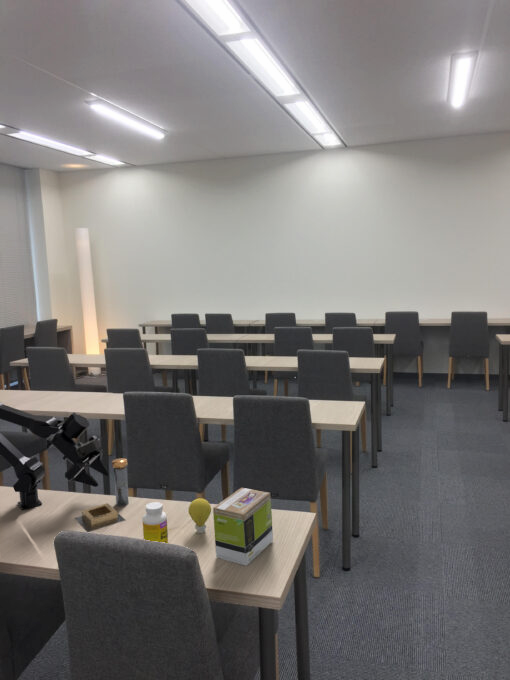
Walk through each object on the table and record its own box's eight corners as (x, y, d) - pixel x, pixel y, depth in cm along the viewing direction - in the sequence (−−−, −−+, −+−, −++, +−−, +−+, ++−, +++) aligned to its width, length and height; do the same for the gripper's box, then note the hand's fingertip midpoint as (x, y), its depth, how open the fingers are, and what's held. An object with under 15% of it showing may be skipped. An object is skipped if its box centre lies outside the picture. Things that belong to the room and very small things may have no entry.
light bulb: (202, 523, 168) (201, 492, 167) (216, 530, 163) (215, 498, 162) (185, 531, 163) (183, 499, 162) (199, 539, 159) (197, 506, 157)
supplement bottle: (163, 556, 150) (160, 511, 148) (140, 554, 151) (137, 510, 149) (171, 544, 156) (169, 501, 155) (149, 542, 158) (147, 499, 156)
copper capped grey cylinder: (112, 507, 182) (108, 461, 180) (123, 501, 186) (120, 457, 184) (122, 510, 179) (119, 464, 177) (133, 504, 183) (130, 459, 181)
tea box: (243, 534, 161) (241, 485, 159) (273, 541, 156) (272, 492, 154) (214, 558, 148) (212, 506, 146) (246, 567, 143) (244, 513, 141)
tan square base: (74, 520, 173) (73, 510, 173) (111, 509, 180) (110, 499, 180) (88, 534, 163) (87, 524, 163) (126, 522, 170) (125, 512, 170)
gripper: (71, 440, 171) (107, 474, 171) (95, 423, 189) (128, 454, 190) (49, 464, 173) (85, 498, 173) (75, 444, 191) (107, 475, 192)
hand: (102, 480), depth 182 cm, fingers open, 9 cm apart
